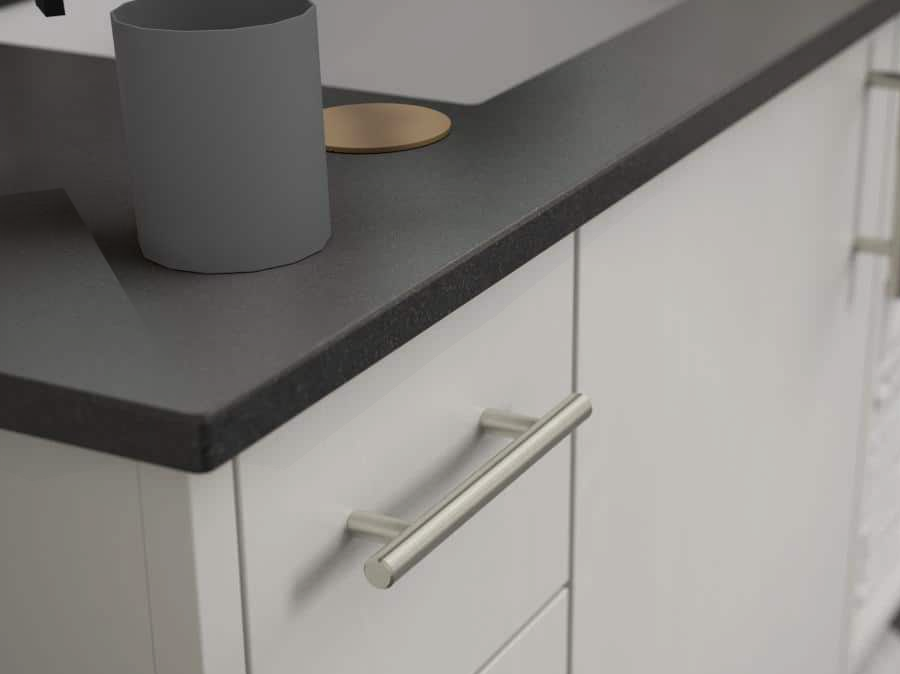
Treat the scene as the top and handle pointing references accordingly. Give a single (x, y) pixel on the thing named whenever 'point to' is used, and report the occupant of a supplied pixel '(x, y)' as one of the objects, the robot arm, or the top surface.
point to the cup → (223, 131)
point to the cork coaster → (382, 127)
